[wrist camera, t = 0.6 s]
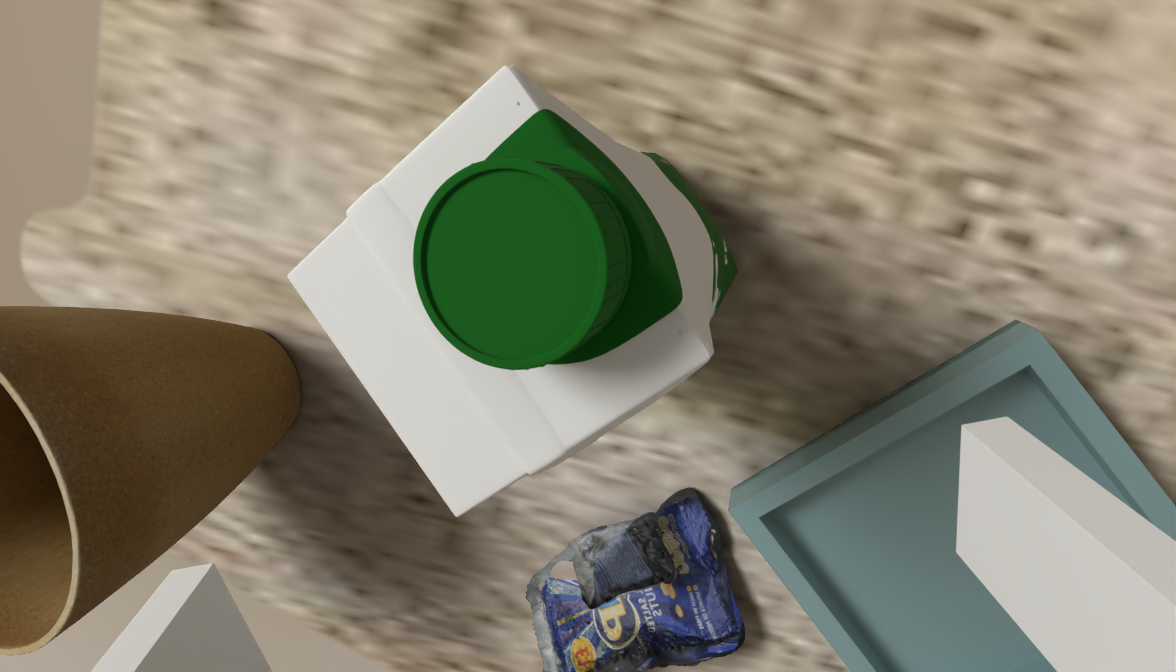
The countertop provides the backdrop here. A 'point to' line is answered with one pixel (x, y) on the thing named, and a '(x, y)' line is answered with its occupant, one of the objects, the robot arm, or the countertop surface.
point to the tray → (926, 509)
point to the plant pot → (119, 447)
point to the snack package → (639, 595)
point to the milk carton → (517, 288)
